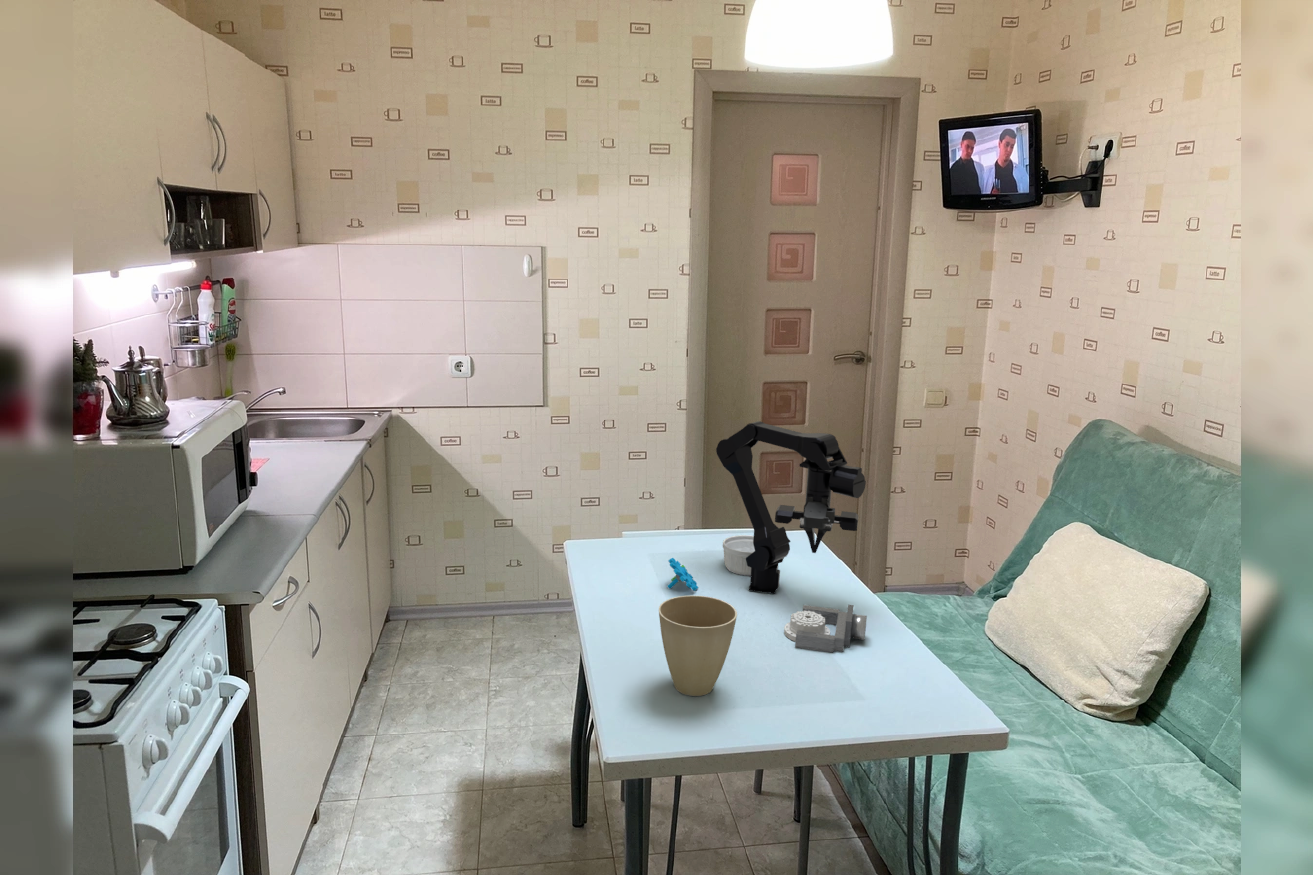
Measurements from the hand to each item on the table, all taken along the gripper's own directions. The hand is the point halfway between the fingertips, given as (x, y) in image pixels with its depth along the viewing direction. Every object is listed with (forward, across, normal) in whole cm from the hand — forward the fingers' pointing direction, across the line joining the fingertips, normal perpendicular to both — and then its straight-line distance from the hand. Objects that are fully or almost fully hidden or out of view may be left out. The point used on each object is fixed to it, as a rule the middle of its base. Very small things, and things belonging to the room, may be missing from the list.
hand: (814, 552), depth 215 cm
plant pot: (+13, -18, -47) cm, 52 cm away
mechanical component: (+14, +1, -17) cm, 22 cm away
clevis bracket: (+13, +6, -16) cm, 21 cm away
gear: (+13, -31, 0) cm, 34 cm away
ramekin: (+13, -18, +18) cm, 29 cm away
